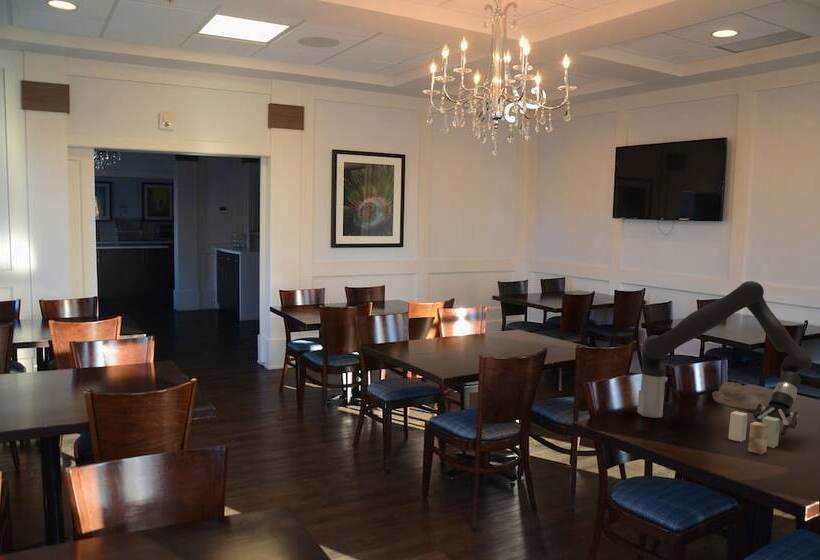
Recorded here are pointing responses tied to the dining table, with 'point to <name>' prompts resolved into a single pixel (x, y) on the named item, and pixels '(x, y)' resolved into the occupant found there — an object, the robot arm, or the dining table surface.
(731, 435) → the cream block
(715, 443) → the dining table surface
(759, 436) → the oak block
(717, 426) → the dining table surface
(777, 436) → the sage block
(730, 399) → the flat cap
